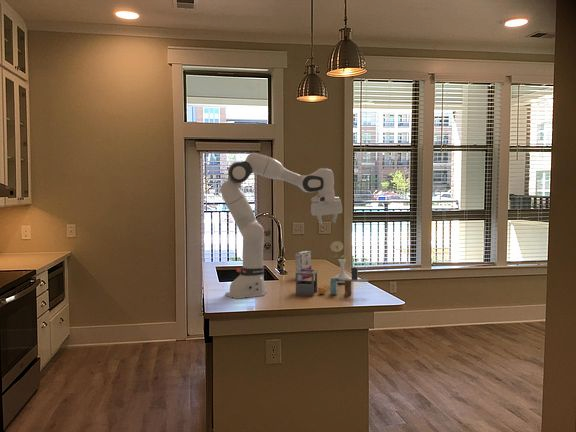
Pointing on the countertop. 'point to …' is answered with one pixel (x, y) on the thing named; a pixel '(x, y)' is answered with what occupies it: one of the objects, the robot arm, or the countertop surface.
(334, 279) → the rod
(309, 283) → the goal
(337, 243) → the flower in vase
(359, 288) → the countertop surface
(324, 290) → the ball
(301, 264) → the candy bar box
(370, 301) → the countertop surface
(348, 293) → the rod cradle
